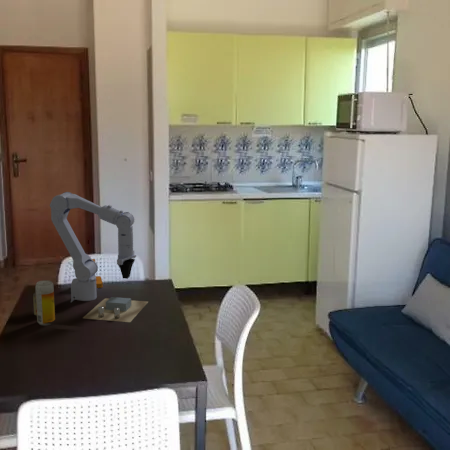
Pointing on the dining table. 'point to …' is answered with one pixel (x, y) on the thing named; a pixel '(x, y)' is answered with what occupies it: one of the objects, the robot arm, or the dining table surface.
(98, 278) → the bracket
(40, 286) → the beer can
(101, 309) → the bench dogs
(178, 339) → the dining table surface
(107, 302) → the bevelled grey block
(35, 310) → the lighter
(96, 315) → the board
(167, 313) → the dining table surface
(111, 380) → the dining table surface
